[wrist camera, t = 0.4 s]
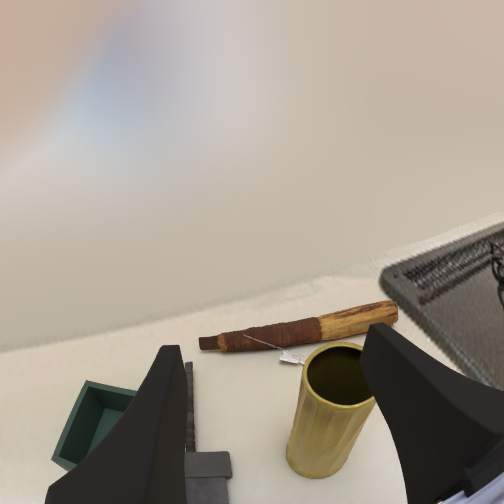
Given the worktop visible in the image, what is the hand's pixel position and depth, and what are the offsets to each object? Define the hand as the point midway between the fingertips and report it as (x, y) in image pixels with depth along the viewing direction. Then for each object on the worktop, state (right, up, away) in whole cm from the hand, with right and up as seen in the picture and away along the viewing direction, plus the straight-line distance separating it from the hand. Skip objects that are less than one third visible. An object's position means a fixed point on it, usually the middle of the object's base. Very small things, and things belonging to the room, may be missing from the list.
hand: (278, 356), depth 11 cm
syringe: (+2, -8, +22) cm, 24 cm away
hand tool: (+18, -6, +23) cm, 30 cm away
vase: (+5, -16, +13) cm, 21 cm away
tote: (-14, -17, +13) cm, 26 cm away
